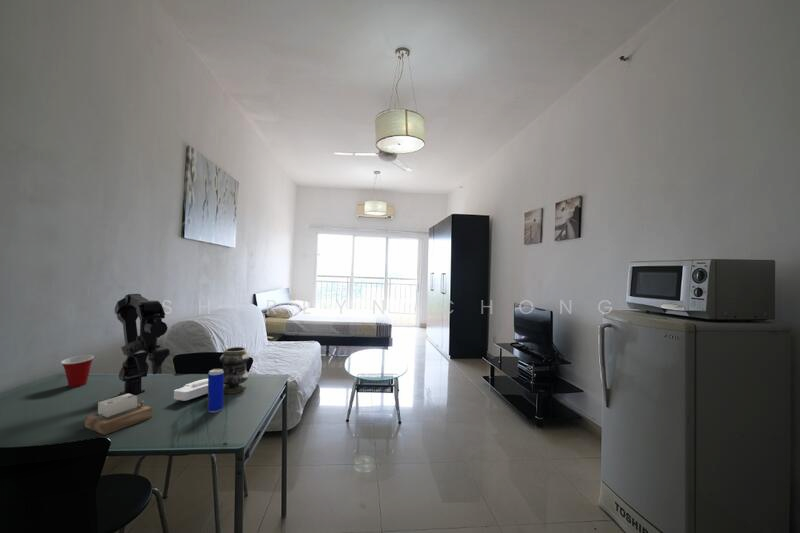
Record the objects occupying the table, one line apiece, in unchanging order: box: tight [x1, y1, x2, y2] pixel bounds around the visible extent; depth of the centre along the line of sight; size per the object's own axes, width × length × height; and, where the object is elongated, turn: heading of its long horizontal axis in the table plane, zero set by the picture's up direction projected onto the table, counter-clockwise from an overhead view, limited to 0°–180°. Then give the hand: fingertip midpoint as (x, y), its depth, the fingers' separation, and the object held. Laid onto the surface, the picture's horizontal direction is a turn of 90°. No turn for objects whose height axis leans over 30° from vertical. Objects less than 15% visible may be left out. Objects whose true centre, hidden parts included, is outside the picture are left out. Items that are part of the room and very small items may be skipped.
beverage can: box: [207, 368, 225, 413], centre depth 129 cm, size 5×5×15 cm
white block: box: [97, 393, 138, 417], centre depth 119 cm, size 6×9×4 cm, turn 155°
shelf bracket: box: [173, 377, 227, 402], centre depth 147 cm, size 6×25×13 cm
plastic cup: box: [60, 354, 95, 388], centre depth 152 cm, size 11×11×12 cm
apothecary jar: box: [219, 346, 250, 394], centre depth 150 cm, size 12×12×18 cm
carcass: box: [84, 400, 153, 436], centre depth 118 cm, size 12×14×5 cm
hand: (147, 372), depth 135 cm, fingers open, 9 cm apart
